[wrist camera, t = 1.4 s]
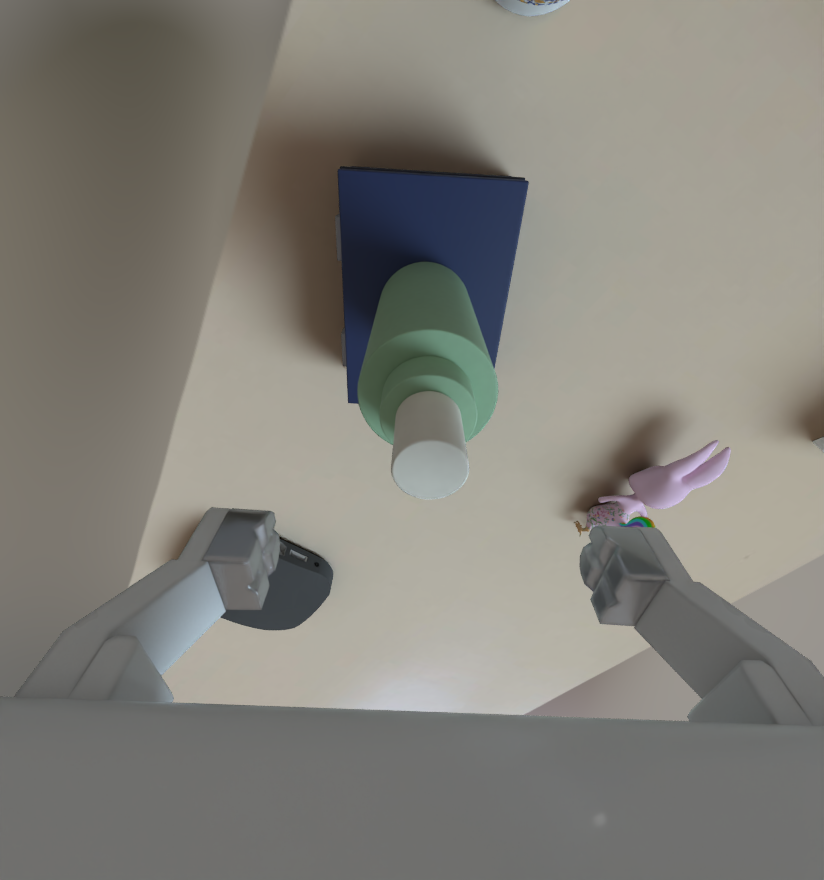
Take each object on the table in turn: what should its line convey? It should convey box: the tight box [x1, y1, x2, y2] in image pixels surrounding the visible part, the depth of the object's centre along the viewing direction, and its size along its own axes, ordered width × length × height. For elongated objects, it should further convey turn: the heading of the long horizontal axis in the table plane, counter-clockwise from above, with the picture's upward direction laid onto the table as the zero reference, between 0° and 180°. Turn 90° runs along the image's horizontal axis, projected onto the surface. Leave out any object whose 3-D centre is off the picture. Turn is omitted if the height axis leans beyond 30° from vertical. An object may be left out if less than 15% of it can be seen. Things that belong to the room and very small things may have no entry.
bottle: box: [357, 262, 498, 499], centre depth 19 cm, size 6×6×16 cm
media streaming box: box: [221, 539, 333, 630], centre depth 47 cm, size 15×15×3 cm
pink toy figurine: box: [574, 440, 730, 536], centre depth 37 cm, size 6×6×15 cm
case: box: [335, 166, 529, 404], centre depth 27 cm, size 14×10×5 cm
